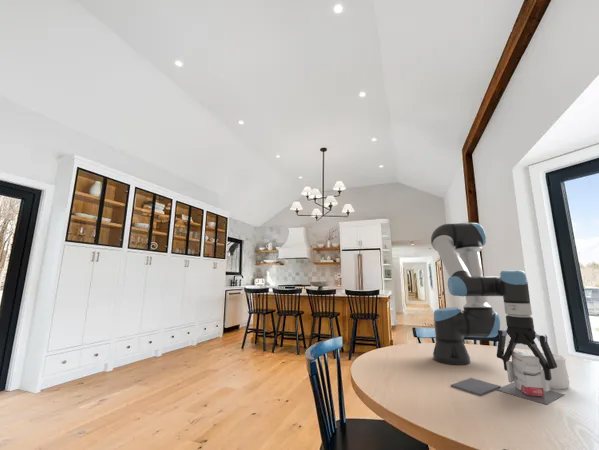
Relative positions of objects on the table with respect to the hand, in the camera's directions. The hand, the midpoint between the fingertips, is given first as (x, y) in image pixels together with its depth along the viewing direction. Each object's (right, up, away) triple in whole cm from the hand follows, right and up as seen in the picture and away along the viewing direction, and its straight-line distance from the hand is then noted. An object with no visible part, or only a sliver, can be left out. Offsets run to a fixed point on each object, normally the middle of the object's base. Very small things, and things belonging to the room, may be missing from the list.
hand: (528, 385), depth 97 cm
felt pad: (-15, -3, +5) cm, 16 cm away
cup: (+13, -3, +6) cm, 15 cm away
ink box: (0, -2, 0) cm, 2 cm away
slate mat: (0, -2, 0) cm, 2 cm away
